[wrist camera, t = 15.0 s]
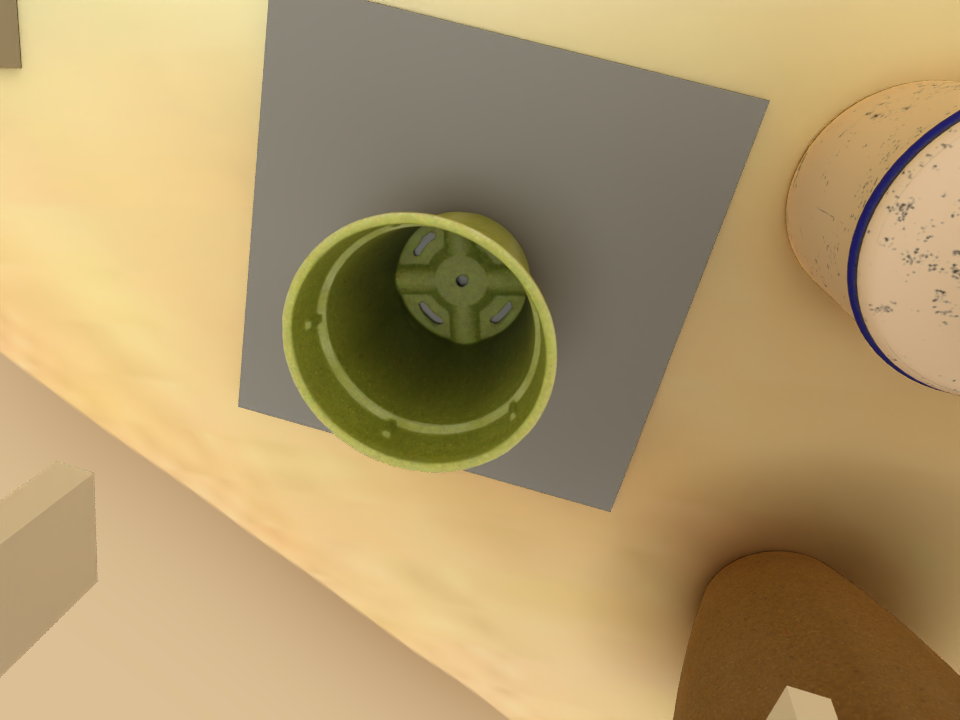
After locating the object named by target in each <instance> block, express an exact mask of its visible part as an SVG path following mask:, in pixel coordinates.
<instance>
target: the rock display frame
mask: <svg viewBox="0 0 960 720" xmlns="http://www.w3.org/2000/svg"><path fill="white" fill-rule="evenodd" d="M0 68H21V59H20V45H19V31H18V17H17V3H16V0H0Z"/></svg>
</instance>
